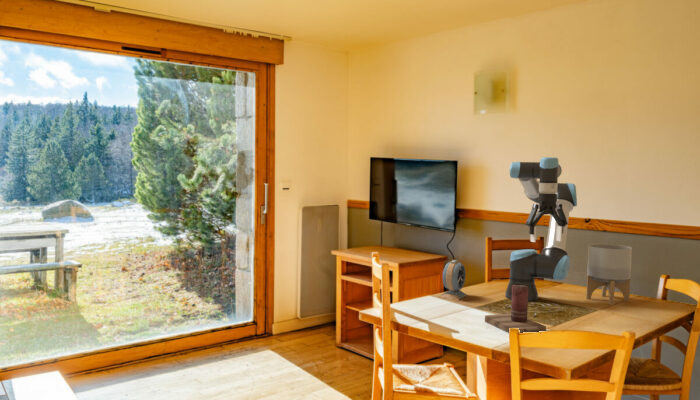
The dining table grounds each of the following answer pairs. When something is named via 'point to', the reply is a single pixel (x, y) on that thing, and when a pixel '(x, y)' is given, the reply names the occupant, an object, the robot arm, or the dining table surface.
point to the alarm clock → (454, 280)
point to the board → (513, 323)
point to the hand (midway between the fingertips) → (546, 241)
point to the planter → (609, 269)
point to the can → (519, 303)
